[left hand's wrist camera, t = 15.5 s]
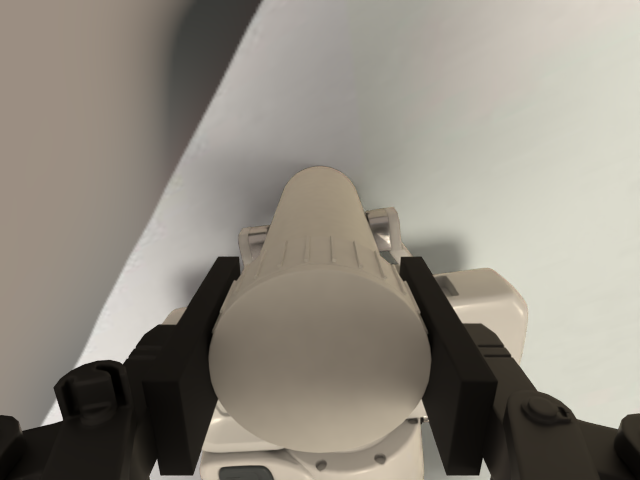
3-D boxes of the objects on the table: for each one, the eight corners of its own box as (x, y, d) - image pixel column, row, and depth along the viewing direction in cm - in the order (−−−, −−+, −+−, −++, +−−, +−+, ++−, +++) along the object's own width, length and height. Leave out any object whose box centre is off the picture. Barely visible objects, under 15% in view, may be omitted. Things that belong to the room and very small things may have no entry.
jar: (335, 151, 24) (358, 242, 10) (372, 218, 26) (442, 387, 11) (266, 190, 25) (189, 331, 10) (306, 253, 27) (289, 453, 12)
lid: (359, 196, 11) (369, 221, 9) (444, 350, 13) (470, 404, 11) (187, 290, 12) (157, 334, 10) (288, 420, 14) (283, 482, 12)
